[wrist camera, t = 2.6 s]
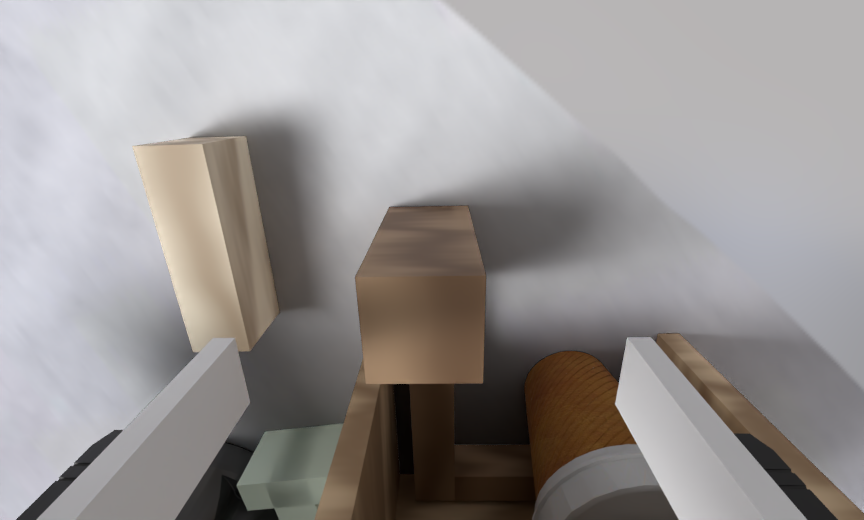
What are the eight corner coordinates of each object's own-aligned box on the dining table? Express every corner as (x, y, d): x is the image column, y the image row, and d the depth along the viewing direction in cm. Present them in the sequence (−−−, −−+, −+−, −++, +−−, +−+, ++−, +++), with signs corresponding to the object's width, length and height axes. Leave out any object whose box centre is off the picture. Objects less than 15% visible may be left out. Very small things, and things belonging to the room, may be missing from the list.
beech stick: (232, 311, 29) (192, 352, 24) (190, 137, 25) (132, 146, 20) (280, 310, 29) (250, 351, 24) (247, 135, 24) (202, 144, 20)
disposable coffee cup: (498, 338, 29) (534, 485, 18) (634, 324, 28) (758, 469, 17) (506, 439, 33) (540, 615, 21) (627, 429, 32) (728, 606, 21)
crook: (405, 467, 34) (390, 626, 24) (389, 207, 26) (355, 277, 15) (598, 467, 33) (668, 629, 23) (644, 202, 25) (782, 271, 15)
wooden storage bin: (383, 486, 35) (340, 776, 20) (369, 336, 29) (296, 580, 14) (643, 487, 34) (800, 786, 19) (679, 333, 29) (937, 585, 14)
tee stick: (298, 516, 36) (277, 577, 32) (265, 431, 33) (236, 485, 28) (374, 509, 36) (364, 570, 31) (349, 422, 32) (333, 476, 28)
